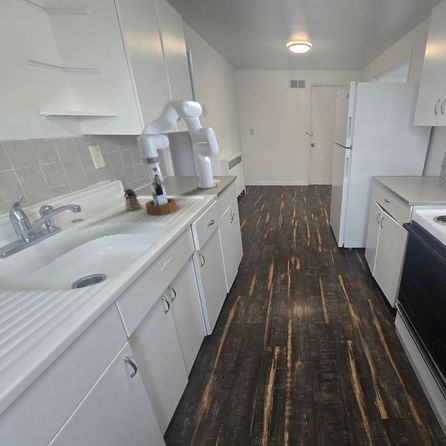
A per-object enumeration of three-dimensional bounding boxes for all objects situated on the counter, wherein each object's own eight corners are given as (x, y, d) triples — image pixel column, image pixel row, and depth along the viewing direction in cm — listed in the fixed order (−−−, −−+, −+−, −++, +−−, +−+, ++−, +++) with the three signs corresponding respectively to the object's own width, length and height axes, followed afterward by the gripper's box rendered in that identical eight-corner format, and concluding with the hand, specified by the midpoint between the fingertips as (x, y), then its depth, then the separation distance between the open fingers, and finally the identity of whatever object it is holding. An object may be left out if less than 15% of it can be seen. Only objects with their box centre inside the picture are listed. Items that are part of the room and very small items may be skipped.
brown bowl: (172, 204, 153) (171, 196, 151) (179, 210, 142) (178, 202, 140) (145, 209, 144) (143, 201, 142) (151, 217, 134) (148, 208, 132)
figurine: (143, 208, 147) (138, 188, 142) (130, 211, 142) (124, 191, 137) (137, 205, 151) (132, 186, 146) (124, 209, 145) (118, 189, 141)
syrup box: (155, 210, 143) (149, 185, 137) (166, 207, 147) (160, 183, 141) (158, 213, 139) (152, 187, 134) (170, 210, 143) (164, 185, 137)
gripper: (162, 161, 128) (170, 196, 135) (155, 157, 141) (162, 189, 148) (146, 163, 124) (154, 198, 131) (139, 159, 136) (148, 191, 143)
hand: (158, 193), depth 139 cm, fingers closed on syrup box, 6 cm apart
